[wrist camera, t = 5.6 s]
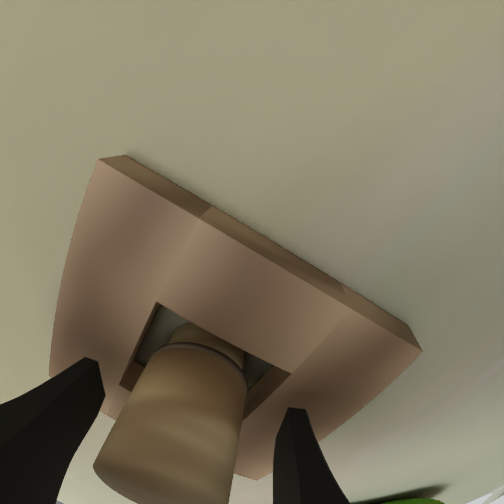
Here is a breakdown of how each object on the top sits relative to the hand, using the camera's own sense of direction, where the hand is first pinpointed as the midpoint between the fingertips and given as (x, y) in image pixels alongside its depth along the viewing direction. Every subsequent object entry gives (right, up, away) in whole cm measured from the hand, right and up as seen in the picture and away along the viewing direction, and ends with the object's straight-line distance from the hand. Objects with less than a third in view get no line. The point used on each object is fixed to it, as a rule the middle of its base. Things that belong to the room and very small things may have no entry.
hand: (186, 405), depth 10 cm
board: (0, +1, +3) cm, 3 cm away
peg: (0, +1, +3) cm, 3 cm away
